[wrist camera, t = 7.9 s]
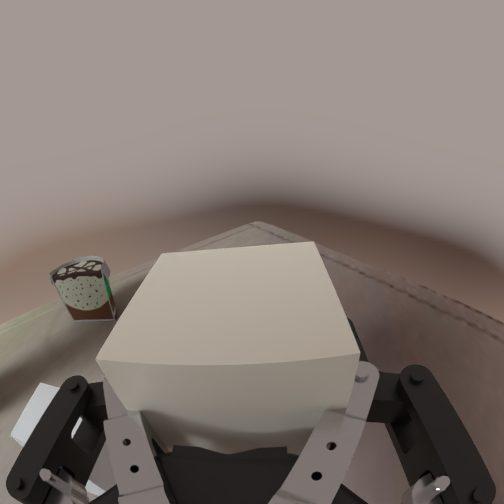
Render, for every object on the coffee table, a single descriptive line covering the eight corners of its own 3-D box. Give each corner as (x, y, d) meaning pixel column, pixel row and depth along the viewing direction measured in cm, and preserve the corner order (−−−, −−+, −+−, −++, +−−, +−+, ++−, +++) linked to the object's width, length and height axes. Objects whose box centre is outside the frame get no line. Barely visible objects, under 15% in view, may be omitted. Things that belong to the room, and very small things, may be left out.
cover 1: (72, 485, 16) (10, 435, 12) (89, 440, 22) (40, 382, 18) (125, 504, 16) (64, 461, 11) (139, 451, 22) (93, 395, 17)
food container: (132, 300, 49) (117, 250, 45) (123, 320, 43) (103, 267, 39) (80, 303, 48) (63, 258, 44) (67, 321, 43) (47, 274, 39)
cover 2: (189, 486, 10) (94, 359, 6) (204, 395, 16) (161, 253, 12) (321, 484, 10) (360, 352, 6) (308, 391, 16) (313, 241, 12)
